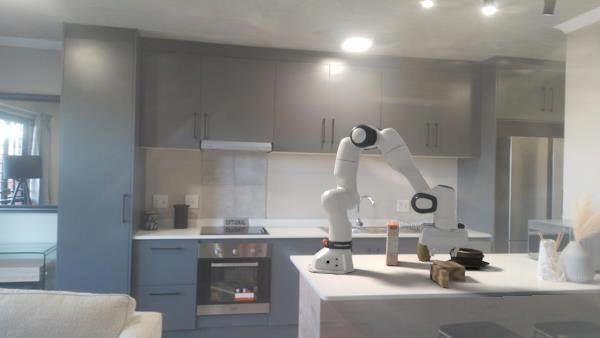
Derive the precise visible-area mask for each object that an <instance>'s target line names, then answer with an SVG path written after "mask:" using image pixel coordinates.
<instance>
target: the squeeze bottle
mask: <svg viewBox="0 0 600 338" xmlns="http://www.w3.org/2000/svg"><path fill="white" fill-rule="evenodd" d="M432 248H433V247H432ZM432 248H431V250H432ZM432 251H433V250H432ZM429 253H430V251H429V250H428V248H427V245H421V244H420V243H419V238H418V239H417V249H416V255H417V259H418V261H421V262H430V260H431V258H432V256H430V255H429Z"/></svg>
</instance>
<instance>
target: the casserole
mask: <svg viewBox="0 0 600 338" xmlns="http://www.w3.org/2000/svg"><path fill="white" fill-rule="evenodd" d="M454 250H455V248H454V247H453V248H451V249H450V251H449V253H448V254H449V256H450V258H449V259H448V260H446V261H453V262H456V263H458V264H460V265H462V266H464V267H465V270H474V269H475V270H476V269H479V268H484V267H486V266H489V265H490V264H491V263H490V262H489V261H485V260H483V259H484V258H485V255H484V252H483V251H482V250H480V249H475V248H467V247H459V250H458V252H457V253H456V257H452V256H451V252H453V251H454Z"/></svg>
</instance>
